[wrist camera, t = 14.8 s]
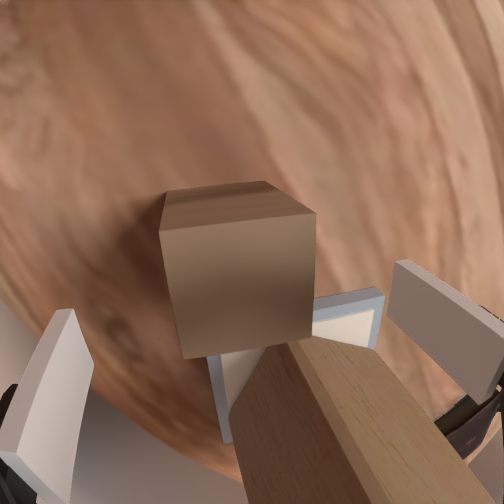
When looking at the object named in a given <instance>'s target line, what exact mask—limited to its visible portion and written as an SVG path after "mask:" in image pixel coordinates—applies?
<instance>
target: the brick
mask: <svg viewBox="0 0 504 504" xmlns="http://www.w3.org/2000/svg"><path fill="white" fill-rule="evenodd" d="M159 237H160V243H161V249H162V255H163V261H164V267H165V272H166V278H167V283H168V289H169V294H170V299H171V304H172V309H173V314H174V319H175V323H176V328H177V332H178V337H179V341H180V346H181V350H182V354H183V359H184V360H185V359H193V358H200V357H207V356H214V355H220V354H227V353H233V352H239V351H245V350H250V349H256V348H262V347H267V346H272V345H277V344H282V343H287V342H292V341H297V340H302V339H306V338H311V337H312V322H313V303H314V279H315V245H316V213H315V212H313V211H312V210H310V209H309V208H307V207H306V206H304V205H303V204H301V203H299V202H298V201H296V200H295V199H293V198H292V197H290V196H288V195H287V194H285V193H284V192H282V191H280V190H279V189H277V188H276V187H274V186H272V185H271V184H269V183H267V182H266V181H257V182H246V183H235V184H225V185H216V186H207V187H198V188H190V189H182V190H174V191H167V194H166V199H165V203H164V208H163V213H162V218H161V222H160V227H159Z"/></svg>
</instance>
